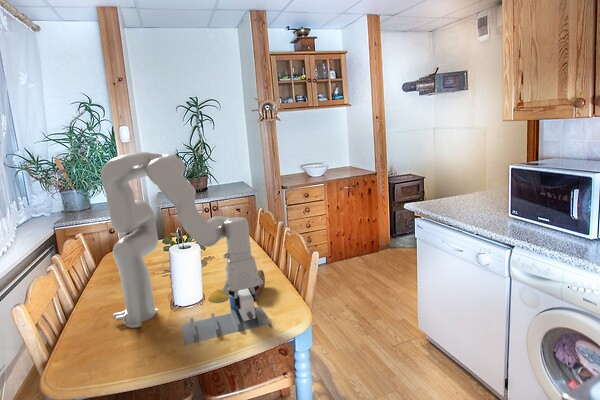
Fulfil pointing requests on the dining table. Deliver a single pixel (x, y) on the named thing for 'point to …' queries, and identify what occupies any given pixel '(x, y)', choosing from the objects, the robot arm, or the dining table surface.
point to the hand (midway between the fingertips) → (245, 305)
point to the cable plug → (246, 305)
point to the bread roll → (218, 296)
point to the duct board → (222, 324)
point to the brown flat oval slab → (260, 289)
